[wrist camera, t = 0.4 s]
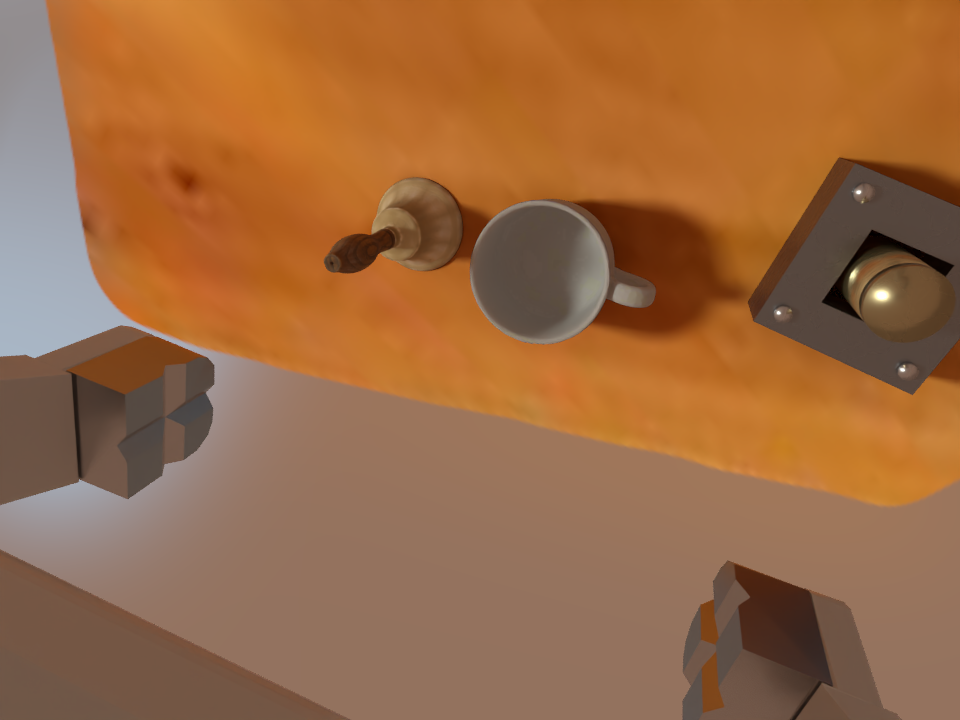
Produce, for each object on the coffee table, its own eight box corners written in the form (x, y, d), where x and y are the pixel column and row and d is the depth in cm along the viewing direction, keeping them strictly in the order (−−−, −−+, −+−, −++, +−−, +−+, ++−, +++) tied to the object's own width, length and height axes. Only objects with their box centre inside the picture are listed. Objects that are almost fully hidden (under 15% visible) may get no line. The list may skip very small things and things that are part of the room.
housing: (839, 157, 45) (857, 163, 40) (1004, 227, 43) (1044, 243, 38) (747, 302, 50) (754, 323, 45) (892, 368, 49) (914, 397, 44)
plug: (855, 224, 46) (895, 253, 37) (919, 252, 45) (975, 287, 36) (817, 281, 48) (845, 321, 39) (877, 308, 47) (920, 355, 39)
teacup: (480, 284, 56) (450, 309, 49) (523, 168, 51) (496, 178, 44) (622, 349, 55) (612, 385, 48) (681, 235, 50) (679, 256, 43)
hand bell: (410, 156, 54) (311, 175, 40) (481, 221, 54) (408, 262, 40) (361, 228, 58) (256, 268, 44) (428, 288, 58) (344, 346, 44)
